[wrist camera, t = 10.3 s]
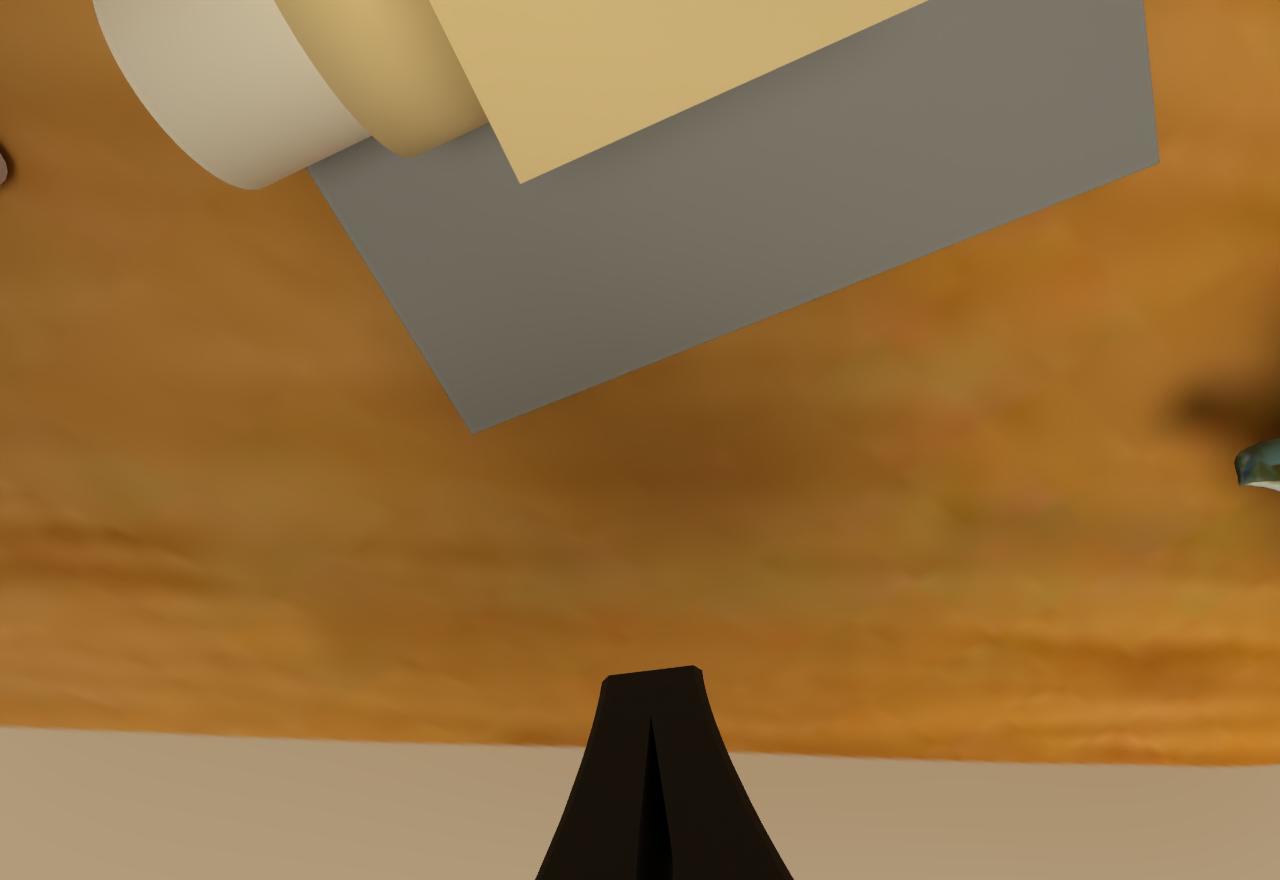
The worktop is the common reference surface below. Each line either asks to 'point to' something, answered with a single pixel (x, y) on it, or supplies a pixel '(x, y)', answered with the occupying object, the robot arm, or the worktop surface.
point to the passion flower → (1260, 465)
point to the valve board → (640, 151)
